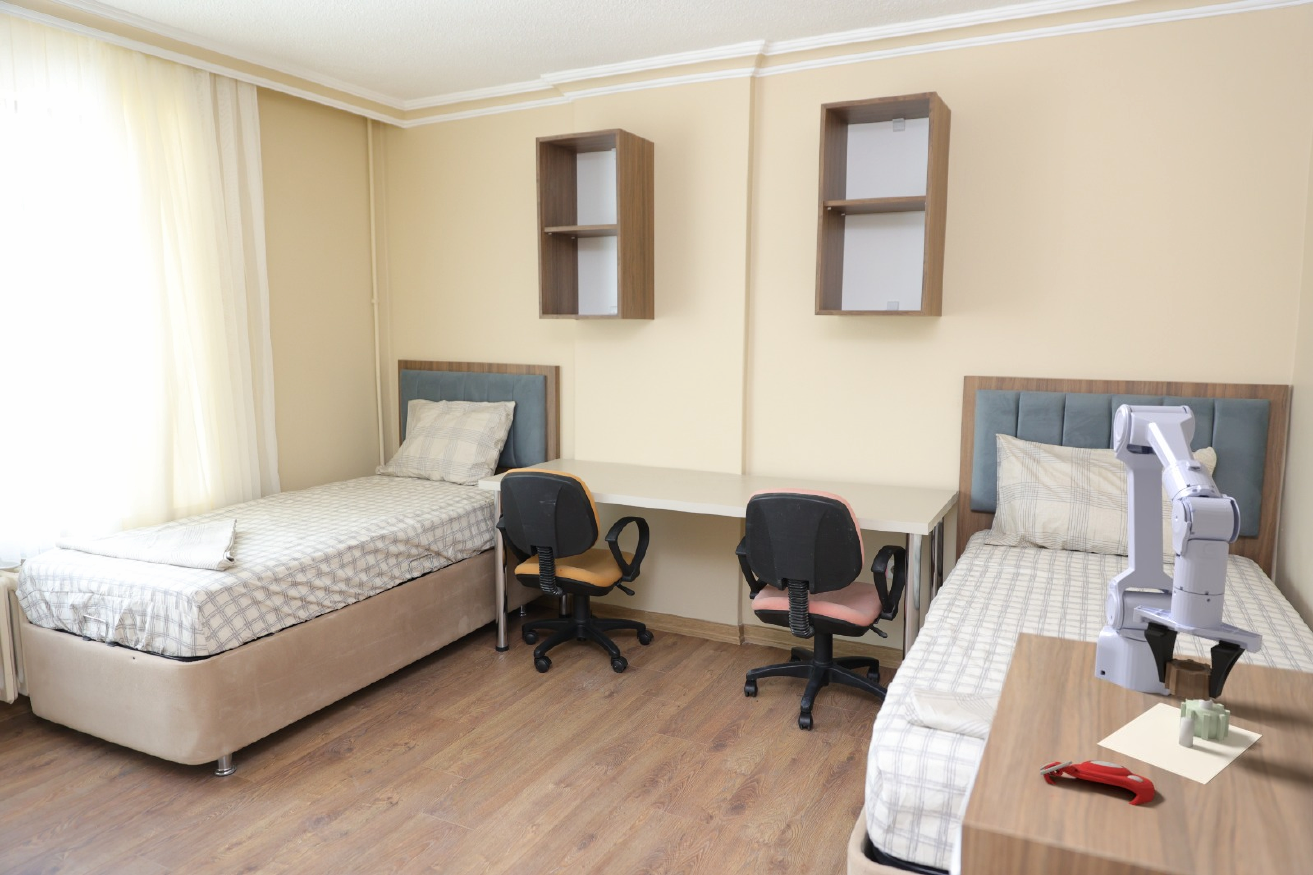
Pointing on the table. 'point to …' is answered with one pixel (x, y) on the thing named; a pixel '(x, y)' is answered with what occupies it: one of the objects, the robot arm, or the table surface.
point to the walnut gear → (1188, 679)
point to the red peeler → (1104, 777)
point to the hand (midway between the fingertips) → (1189, 688)
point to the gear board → (1169, 753)
